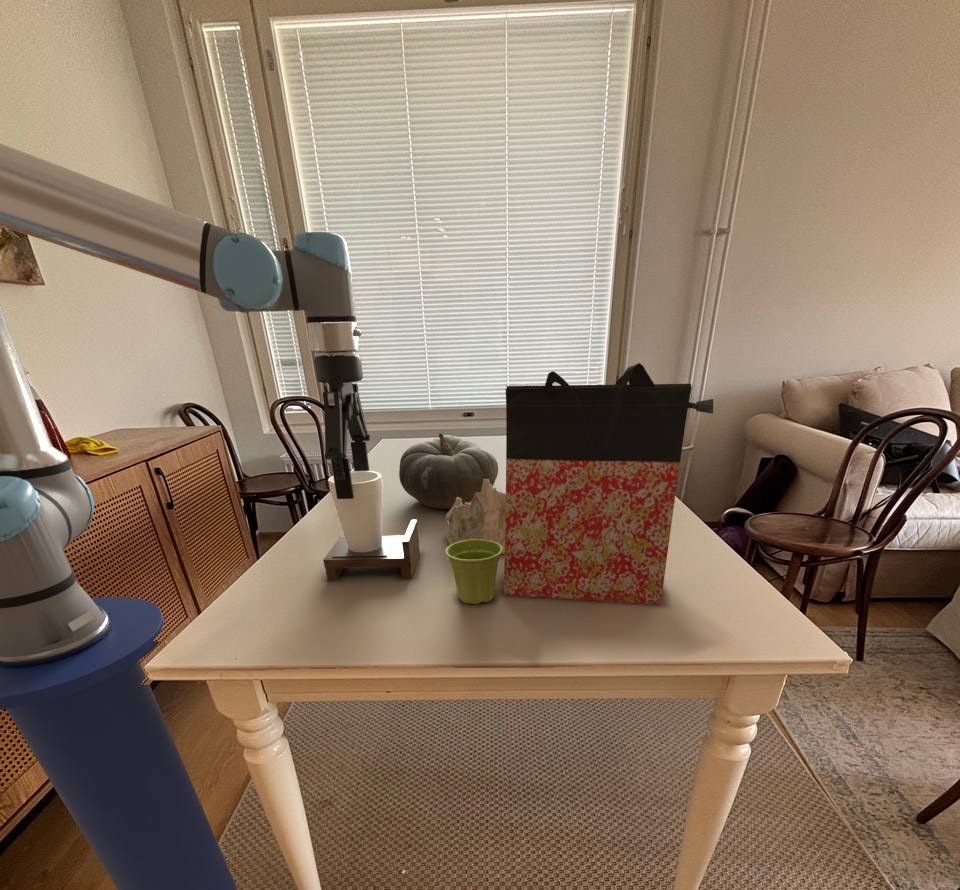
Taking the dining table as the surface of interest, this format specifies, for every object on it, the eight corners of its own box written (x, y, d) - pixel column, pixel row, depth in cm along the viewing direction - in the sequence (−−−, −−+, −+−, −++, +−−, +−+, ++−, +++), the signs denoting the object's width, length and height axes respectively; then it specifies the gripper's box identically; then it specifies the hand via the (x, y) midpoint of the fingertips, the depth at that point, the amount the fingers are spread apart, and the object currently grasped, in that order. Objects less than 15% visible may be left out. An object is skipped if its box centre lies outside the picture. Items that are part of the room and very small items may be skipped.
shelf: (326, 580, 100) (319, 543, 96) (342, 555, 110) (336, 521, 106) (412, 578, 99) (408, 541, 95) (420, 553, 109) (417, 519, 105)
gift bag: (500, 602, 89) (497, 368, 71) (513, 568, 101) (514, 360, 83) (685, 615, 84) (732, 364, 66) (676, 577, 96) (714, 356, 78)
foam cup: (332, 554, 99) (319, 483, 92) (350, 537, 107) (339, 470, 100) (382, 555, 98) (372, 484, 91) (396, 538, 106) (388, 470, 99)
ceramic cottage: (541, 544, 111) (538, 470, 103) (471, 564, 105) (462, 486, 98) (505, 527, 123) (500, 460, 116) (440, 544, 117) (430, 474, 110)
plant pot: (439, 604, 90) (435, 556, 85) (462, 582, 97) (459, 536, 92) (490, 613, 86) (489, 563, 82) (511, 589, 94) (510, 542, 89)
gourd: (453, 472, 155) (452, 411, 143) (517, 502, 142) (522, 437, 130) (384, 501, 141) (376, 435, 130) (448, 537, 129) (446, 468, 117)
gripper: (340, 358, 75) (360, 508, 86) (375, 350, 96) (387, 470, 107) (287, 359, 75) (313, 508, 86) (333, 350, 96) (350, 471, 107)
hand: (354, 487), depth 96 cm, fingers open, 13 cm apart
